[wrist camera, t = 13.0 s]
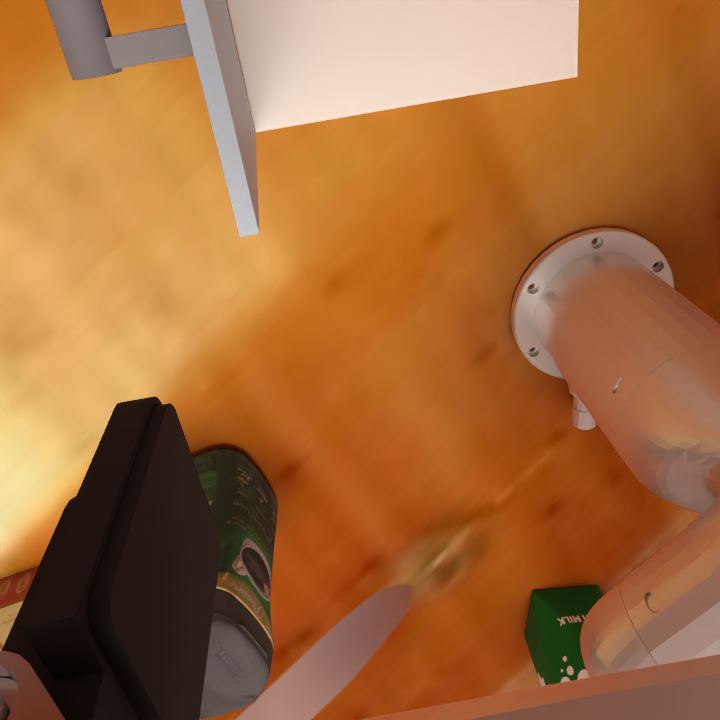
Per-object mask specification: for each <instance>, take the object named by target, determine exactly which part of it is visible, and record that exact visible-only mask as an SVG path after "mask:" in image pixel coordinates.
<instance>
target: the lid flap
mask: <svg viewBox="0 0 720 720" xmlns="http://www.w3.org/2000/svg"><path fill="white" fill-rule="evenodd" d="M45 1H46V4H47V7H48V10H49V13H50V16H51V19H52V21H53V24H54V27H55V30H56V33H57V36H58V39H59V42H60V45H61V48H62V50H63V53H64V56H65V59H66V62H67V65H68V68H69V71H70V74H71V77H72V80H82V79H88V78H94V77H100V76H105V75H109V74H114V73H118V72H121V71H122V68H125V67H130V66H136V65H142V64H147V63H153V62H159V61H164V60H170V59H176V58H182V57H187V56H193V55H194V57H195V61H196V65H197V69H198V73H199V76H200V80H201V84H202V88H203V92H204V96H205V100H206V104H207V108H208V112H209V116H210V120H211V124H212V128H213V132H214V136H215V140H216V144H217V148H218V152H219V156H220V160H221V164H222V168H223V172H224V176H225V180H226V184H227V188H228V192H229V196H230V199H231V203H232V207H233V211H234V215H235V219H236V223H237V227H238V231H239V235H240V237H244V236H249V235H254V234H259V216H258V191H257V166H256V142H255V130H254V125H253V120H252V116H251V111H250V107H249V102H248V98H247V93H246V89H245V84H244V80H243V75H242V71H241V66H240V62H239V57H238V53H237V48H236V44H235V39H234V34H233V30H232V25H231V21H230V16H229V12H228V7H227V3H226V0H180V1H181V5H182V9H183V13H184V17H185V21H186V24H181V25H175V26H169V27H163V28H157V29H152V30H146V31H140V32H134V33H128V34H123V35H117V36H112V35H111V32H110V29H109V25H108V22H107V19H106V16H105V12H104V9H103V6H102V3H101V0H45Z"/></svg>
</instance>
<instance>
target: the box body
mask: <svg viewBox="0 0 720 720" xmlns="http://www.w3.org/2000/svg"><path fill="white" fill-rule="evenodd" d="M227 3H228V7H229V12H230V16H231V21H232V25H233V30H234V34H235V39H236V44H237V48H238V53H239V57H240V62H241V66H242V71H243V75H244V80H245V84H246V89H247V93H248V98H249V103H250V107H251V112H252V116H253V121H254V125H255V130H256V132H260V131H266V130H272V129H278V128H283V127H289V126H295V125H301V124H307V123H312V122H318V121H324V120H330V119H336V118H341V117H347V116H353V115H359V114H365V113H370V112H376V111H382V110H388V109H394V108H399V107H405V106H411V105H417V104H423V103H428V102H434V101H440V100H446V99H451V98H457V97H463V96H469V95H475V94H480V93H486V92H492V91H498V90H504V89H509V88H515V87H521V86H527V85H533V84H538V83H544V82H550V81H556V80H562V79H567V78H573V77H577V64H578V14H579V0H227Z"/></svg>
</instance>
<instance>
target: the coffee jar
mask: <svg viewBox="0 0 720 720" xmlns="http://www.w3.org/2000/svg"><path fill="white" fill-rule="evenodd" d="M193 461H194V464H195V466H196V469H197V472H198V475H199V478H200V480H201V483H202V486H203V489H204V492H205V495H206V497H207V500H208V503H209V506H210V509H211V511H212V514H213V517H214V520H215V523H216V526H217V528H218V532H219V536H220V544H221V554H220V563H219V570H218V578H217V586H216V594H215V601H214V609H213V617H212V625H211V632H210V640H209V648H208V656H207V663H206V671H205V679H204V687H203V694H202V702H201V710H200V718H201V719H209V718H212V717H216V716H219V715H223V714H226V713H229V712H232V711H235V710H238V709H240V708H243V707H245V706H248V705H250V704H252V703H254V702H255V701H256V699H257V698H258V696H259V695H260V694H261V693H262V691H263V690H264V688H265V687H266V685H267V682H268V679H269V675H270V668H271V662H272V655H273V635H272V626H271V614H270V593H271V578H272V565H273V552H274V542H275V533H276V523H277V502H276V499H275V497H274V494H273V492H272V491H271V488H270V487H269V485H268V483H267V482H266V480H265V479H264V477H263V476H262V474H261V473H260V472H259V470H258V469H257V468H256V466H255V465H254V464H253V463H252V462H251V461H250V460H249V459H248V458H247V457H246V456H245V455H243V454H242V453H240V452H238V451H234V450H230V449H218V450H212V451H208V452H205V453H202V454H199V455H197V456H195V457H193Z"/></svg>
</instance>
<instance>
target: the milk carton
mask: <svg viewBox="0 0 720 720" xmlns="http://www.w3.org/2000/svg"><path fill="white" fill-rule="evenodd" d="M602 597H603V595H602V594H601V592H600V590H599V588H598V586H597V585H595V586H582V587H570V588H557V589H545V590H533V591H532V596H531V602H530V607H529V613H528V619H527V624H526V630H525V638H526V641H527V645H528V648H529V651H530V654H531V657H532V660H533V663H534V666H535V669H536V672H537V675H538V678H539V681H540V683H541V686H546V685H551V684H557V683H562V682H567V681H573V680H579V679H584V678H590V677H589V675H588V673H587V670H586V668H585V665H584V661H583V658H582V654H581V647H580V635H581V629H582V625H583V623H584V620H585V618H586V616H587V614H588V613H589V611H590V610H591V608H592V607H593V606H594V605H595V604H596V602H597V601H598V600H599V599H600V598H602Z"/></svg>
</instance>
